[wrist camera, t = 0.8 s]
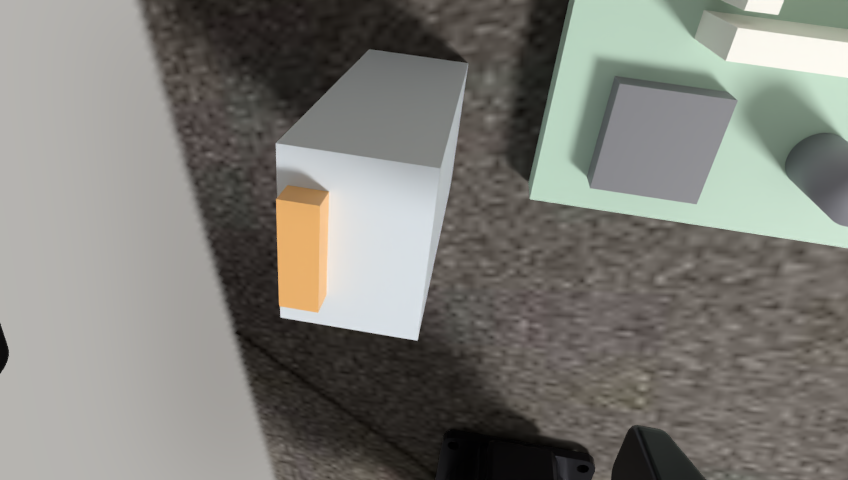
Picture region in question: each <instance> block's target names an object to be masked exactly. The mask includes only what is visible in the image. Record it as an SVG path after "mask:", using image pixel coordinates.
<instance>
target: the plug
mask: <svg viewBox="0 0 848 480" xmlns="http://www.w3.org/2000/svg"><path fill="white" fill-rule="evenodd" d="M467 69H468V63H464V62H456V61H449V60H442V59H435V58H428V57H421V56H414V55H407V54H400V53H393V52H386V51H379V50H372V49H369V50H368V51H367V52H366V53H365V54H364V55H363V56H362V57H361V58H360V59H359V60H358V61H357V62H356V63H355V64H354V65H353V66H352V67H351V68H350V69H349V70H348V71H347V72H346V73H345V74H344V75H343V76H342V77H341V78H340V79H339V80H338V81H337V82H336V83H335V84H334V85H333V86H332V87H331V88H330V89H329V90H328V91H327V92H326V93H325V94H324V95H323V96H322V97H321V98H320V99H319V100H318V101H317V102H316V103H315V104H314V105H313V106H312V107H311V108H310V109H309V110H308V111H307V112H306V113H305V114H304V115H303V116H302V117H301V118H300V119H299V120H298V121H297V122H296V123H295V124H294V125H293V126H292V127H291V128H290V129H289V130H288V132H287V133H286V134H285V135H284V136H283V137H282V138H281V139H280V140H279V141H278V142H277V143H276V168H277V199H276V215H277V251H278V287H279V306H280V317H281V318H287V319H292V320H298V321H304V322H310V323H316V324H322V325H328V326H334V327H340V328H345V329H351V330H357V331H363V332H369V333H375V334H381V335H387V336H393V337H398V338H404V339H410V340H416V341H418V336H419V331H420V327H421V322H422V317H423V313H424V308H425V303H426V298H427V294H428V289H429V284H430V280H431V275H432V270H433V265H434V261H435V256H436V251H437V247H438V242H439V237H440V232H441V228H442V223H443V218H444V214H445V209H446V204H447V199H448V195H449V190H450V185H451V179H452V172H453V165H454V158H455V151H456V144H457V138H458V131H459V124H460V117H461V110H462V103H463V96H464V89H465V83H466V76H467Z"/></svg>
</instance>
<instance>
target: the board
mask: <svg viewBox="0 0 848 480" xmlns="http://www.w3.org/2000/svg"><path fill="white" fill-rule="evenodd" d="M529 197H530V199H532V200H539V201H545V202H552V203H558V204H565V205H571V206H578V207H584V208H591V209H597V210H604V211H610V212H617V213H623V214H630V215H636V216H643V217H649V218H656V219H662V220H669V221H675V222H682V223H688V224H695V225H701V226H708V227H714V228H721V229H727V230H734V231H740V232H747V233H753V234H760V235H766V236H773V237H779V238H786V239H792V240H799V241H805V242H812V243H818V244H825V245H831V246H838V247H844V248H848V0H569V3H568V8H567V12H566V17H565V21H564V26H563V30H562V35H561V39H560V44H559V48H558V53H557V57H556V62H555V66H554V71H553V75H552V80H551V84H550V89H549V93H548V98H547V102H546V107H545V111H544V116H543V120H542V125H541V129H540V134H539V138H538V143H537V147H536V152H535V156H534V161H533V165H532V170H531V174H530V179H529Z"/></svg>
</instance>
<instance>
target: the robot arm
mask: <svg viewBox="0 0 848 480" xmlns="http://www.w3.org/2000/svg"><path fill="white" fill-rule="evenodd" d="M8 356H9V350H8V346H7V343H6V340H5V337H4V333H3V330H2V327H1V324H0V373H1V372H2V370H3V369H4V367H5V365H6V363H7V360H8ZM594 472H595V464H594V459H593V457H592V456H590V455H589V454H586V453H581V452H575V451H570V450H564V449H558V448H553V447H547V446H541V445H536V444H530V443H525V442H519V441H513V440H508V439H502V438H496V437H491V436H485V435H480V434H474V433H468V432H463V431H457V430H450V431H447V432H446V433H444V435H443V439H442V445H441V450H440V456H439V461H438V467H437V472H436V477H435V480H591V479H592V477H593V474H594ZM611 480H706V479H705V478H704V477H703V475H702V474H701V473H700V472H699V471H698V469H697V468H696V467H695V466H694V465H693V464H692V462H691V461H690V460H689V459H688V458H687V456H686V455H685V454H684V453H683V452H682V450H681V449H680V448H679V447H678V446H677V444H676V443H675V442H674V441H673V440H672V439H671V437H670V436H669V435H668V434H667V433H666V432H664V431H663V430H660V429H656V428H651V427H645V426H640V425H634V426H632V427H631V428H630V429H629V430H628V432H627V434H626V437H625V439H624V441H623V444H622V446H621V448H620V451H619V453H618V455H617V458H616V460H615V462H614V465H613V469H612V476H611Z"/></svg>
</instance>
